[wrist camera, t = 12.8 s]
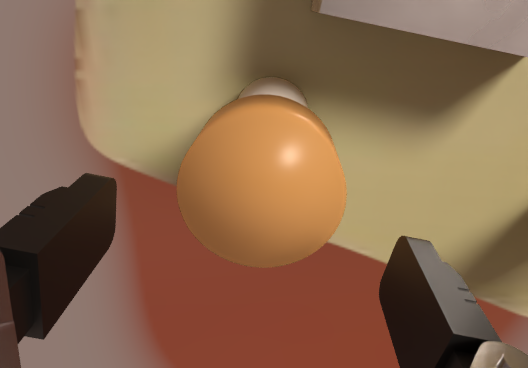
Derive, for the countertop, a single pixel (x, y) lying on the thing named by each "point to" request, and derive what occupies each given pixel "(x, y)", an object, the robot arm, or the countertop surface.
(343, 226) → the countertop surface
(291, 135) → the orange-capped white cylinder
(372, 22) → the housing
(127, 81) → the countertop surface
